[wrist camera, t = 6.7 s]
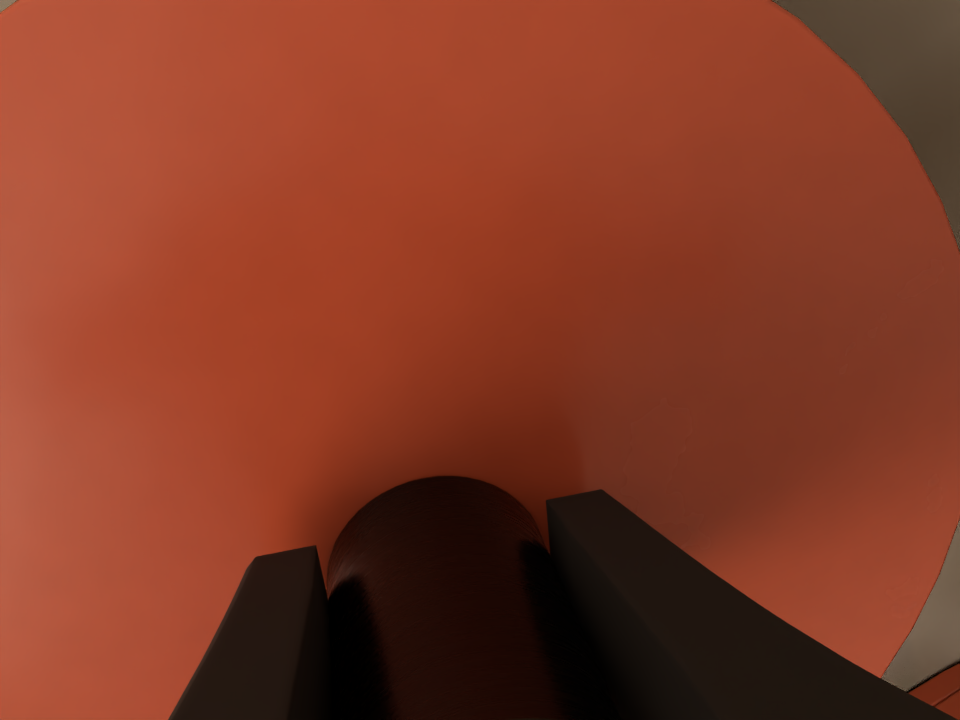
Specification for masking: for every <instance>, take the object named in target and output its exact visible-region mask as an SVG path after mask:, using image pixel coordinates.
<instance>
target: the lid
mask: <svg viewBox="0 0 960 720" xmlns="http://www.w3.org/2000/svg"><path fill="white" fill-rule="evenodd" d="M599 489H602V490H604V491H605V492H606V493H608V494H609V495H610V496H612V497H613V498H614V499H616V500H617V501H618V502H620V503H621V504H622V505H624V506H625V507H626V508H628V509H629V510H630V511H632V512H633V513H634V514H636V515H637V516H638V517H640V518H641V519H642V520H643V521H645V522H646V523H647V524H649V525H650V526H651V527H653V528H654V529H655V530H657V531H658V532H659V533H660V534H662V535H663V536H664V537H666V538H667V539H668V540H670V541H671V542H672V543H674V544H675V545H676V546H678V547H679V548H681V549H682V550H683V551H685V552H686V553H687V554H689V555H690V556H691V557H693V558H694V559H695V560H697V561H698V562H699V563H701V564H702V565H704V566H705V567H706V568H708V569H709V570H710V571H712V572H713V573H715V574H716V575H718V576H719V577H720V578H722V579H723V580H725V581H726V582H728V583H729V584H731V585H732V586H733V587H735V588H736V589H738V590H739V591H741V592H742V593H744V594H745V595H746V596H748V597H749V598H751V599H752V600H754V601H755V602H756V603H758V604H759V605H761V606H762V607H764V608H765V609H767V610H769V611H770V612H772V613H773V614H775V615H776V616H778V617H779V618H781V619H782V620H784V621H785V622H787V623H789V624H790V625H792V626H793V627H795V628H797V629H798V630H800V631H802V632H803V633H805V634H806V635H808V636H810V637H811V638H813V639H815V640H816V641H818V642H819V643H821V644H823V645H824V646H826V647H828V648H829V649H831V650H832V651H834V652H836V653H837V654H839V655H841V656H842V657H844V658H846V659H847V660H849V661H851V662H852V663H854V664H856V665H858V666H859V667H861V668H863V669H865V670H866V671H868V672H870V673H872V674H873V675H875V676H877V677H879V678H881V677H882V675H883V674H884V672H885V671H886V669H887V668H888V666H889V664H890V663H891V661H892V660H893V658H894V657H895V655H896V654H897V652H898V650H899V649H900V647H901V646H902V644H903V643H904V641H905V639H906V638H907V636H908V635H909V633H910V632H911V630H912V629H913V627H914V625H915V623H916V621H917V619H918V617H919V615H920V613H921V611H922V609H923V607H924V605H925V603H926V601H927V599H928V597H929V595H930V593H931V591H932V589H933V587H934V585H935V583H936V581H937V579H938V576H939V574H940V572H941V569H942V566H943V563H944V561H945V558H946V555H947V552H948V550H949V547H950V544H951V541H952V539H953V536H954V533H955V530H956V528H957V525H958V522H959V519H960V251H959V249H958V246H957V243H956V240H955V237H954V235H953V232H952V229H951V226H950V223H949V220H948V218H947V215H946V212H945V209H944V206H943V204H942V201H941V199H940V197H939V195H938V193H937V192H936V190H935V188H934V186H933V184H932V182H931V181H930V179H929V177H928V175H927V173H926V171H925V170H924V168H923V166H922V164H921V162H920V160H919V159H918V157H917V155H916V153H915V151H914V149H913V148H912V146H911V144H910V142H909V140H908V138H907V137H906V135H905V134H904V132H903V131H902V130H901V129H900V127H899V126H898V125H897V123H896V122H895V121H894V120H893V118H892V117H891V116H890V114H889V113H888V112H887V110H886V109H885V108H884V107H883V105H882V104H881V103H880V101H879V100H878V99H877V98H876V96H875V95H874V94H873V92H872V91H871V90H870V89H869V87H868V86H867V85H866V83H865V82H864V81H863V80H862V78H861V77H860V76H859V74H858V73H857V72H856V71H854V70H853V69H852V68H851V67H850V66H849V65H848V64H847V63H846V62H845V61H844V60H843V59H842V58H841V57H839V56H838V55H837V54H836V53H835V52H834V51H833V50H832V49H831V48H830V47H829V46H828V45H827V44H826V43H824V42H823V41H822V40H821V39H820V38H819V37H818V36H817V35H816V34H815V33H814V32H813V31H812V30H811V29H809V28H808V27H807V26H806V25H805V24H804V23H803V22H802V21H801V20H800V19H799V18H797V17H796V16H794V15H793V14H791V13H790V12H788V11H787V10H785V9H784V8H782V7H781V6H780V5H778V4H777V3H775V2H774V1H772V0H17V1H16V2H14V3H13V4H11V5H10V6H9V7H7V8H6V9H5V10H3V11H2V12H0V720H168V719H169V717H170V715H171V713H172V712H173V710H174V708H175V706H176V705H177V703H178V701H179V699H180V697H181V696H182V694H183V692H184V690H185V688H186V687H187V685H188V683H189V681H190V680H191V678H192V676H193V674H194V672H195V671H196V669H197V667H198V665H199V664H200V662H201V660H202V658H203V656H204V654H205V652H206V650H207V649H208V647H209V645H210V643H211V641H212V639H213V637H214V635H215V633H216V631H217V629H218V627H219V625H220V623H221V621H222V619H223V617H224V615H225V613H226V611H227V609H228V607H229V605H230V603H231V601H232V599H233V597H234V595H235V592H236V590H237V588H238V586H239V584H240V582H241V580H242V577H243V575H244V573H245V571H246V568H247V567H248V566H249V565H250V563H251V562H252V561H253V559H254V558H255V557H257V556H262V555H267V554H272V553H277V552H282V551H287V550H292V549H298V548H303V547H308V546H313V545H316V547H317V551H318V556H319V560H320V565H321V569H322V574H323V578H324V583H325V587H326V592H327V597H328V603H329V625H330V647H331V669H332V709H333V720H622V719H621V717H620V714H619V712H618V710H617V708H616V705H615V703H614V701H613V698H612V696H611V694H610V692H609V689H608V687H607V685H606V682H605V680H604V678H603V675H602V673H601V671H600V669H599V666H598V664H597V662H596V659H595V657H594V655H593V652H592V650H591V648H590V646H589V643H588V641H587V639H586V636H585V634H584V632H583V630H582V627H581V625H580V623H579V620H578V618H577V616H576V613H575V611H574V609H573V607H572V604H571V602H570V600H569V597H568V595H567V593H566V590H565V588H564V586H563V584H562V581H561V579H560V577H559V574H558V572H557V570H556V568H555V565H554V563H553V561H552V558H551V556H550V546H549V533H548V521H547V509H546V500H548V499H553V498H558V497H564V496H569V495H574V494H579V493H584V492H589V491H594V490H599Z"/></svg>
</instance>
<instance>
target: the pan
mask: <svg viewBox="0 0 960 720" xmlns="http://www.w3.org/2000/svg"><path fill="white" fill-rule="evenodd" d="M909 694H910V695H912V696H914V697H916V698H918V699H920V700H922V701H924V702H926V703H928V704H930V705H931V706H933V707H935V708H937V709H939V710H941V711H943V712H945V713H947V714H949V715H950V716H952V717H954V718H956V719H958V720H960V663H959V664H957V665H955V666H953V667H951V668H949V669H947V670H945V671H944V672H942V673H940V674H939V675H937V676H935V677H934V678H932V679H930V680H929V681H927V682H925V683H924V684H922V685H920V686H919V687H917V688H916V689H914V690H912V691H911V692H909Z"/></svg>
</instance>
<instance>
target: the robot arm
mask: <svg viewBox="0 0 960 720" xmlns="http://www.w3.org/2000/svg"><path fill="white" fill-rule="evenodd" d="M546 509H547V521H548V533H549V546H550V556H551V558H552V561H553V563H554V565H555V568H556V570H557V572H558V574H559V577H560V579H561V581H562V584H563V586H564V588H565V590H566V593H567V595H568V597H569V600H570V602H571V604H572V607H573V609H574V611H575V613H576V616H577V618H578V620H579V623H580V625H581V627H582V630H583V632H584V634H585V636H586V639H587V641H588V643H589V646H590V648H591V650H592V652H593V655H594V657H595V659H596V662H597V664H598V666H599V669H600V671H601V673H602V675H603V678H604V680H605V682H606V685H607V687H608V689H609V692H610V694H611V696H612V698H613V701H614V703H615V705H616V708H617V710H618V712H619V714H620V717H621V719H622V720H958V719H956V718H954V717H952V716H950V715H949V714H947V713H945V712H943V711H941V710H939V709H937V708H935V707H933V706H931V705H930V704H928V703H926V702H924V701H922V700H920V699H918V698H916V697H914V696H912V695H910V694H909V693H907V692H905V691H903V690H901V689H899V688H897V687H895V686H893V685H891V684H890V683H888V682H886V681H884V680H882V679H881V678H879V677H877V676H875V675H873V674H872V673H870V672H868V671H866V670H865V669H863V668H861V667H859V666H858V665H856V664H854V663H852V662H851V661H849V660H847V659H846V658H844V657H842V656H841V655H839V654H837V653H836V652H834V651H832V650H831V649H829V648H828V647H826V646H824V645H823V644H821V643H819V642H818V641H816V640H815V639H813V638H811V637H810V636H808V635H806V634H805V633H803V632H802V631H800V630H798V629H797V628H795V627H793V626H792V625H790V624H789V623H787V622H785V621H784V620H782V619H781V618H779V617H778V616H776V615H775V614H773V613H772V612H770V611H769V610H767V609H765V608H764V607H762V606H761V605H759V604H758V603H756V602H755V601H754V600H752V599H751V598H749V597H748V596H746V595H745V594H744V593H742V592H741V591H739V590H738V589H736V588H735V587H733V586H732V585H731V584H729V583H728V582H726V581H725V580H723V579H722V578H720V577H719V576H718V575H716V574H715V573H713V572H712V571H710V570H709V569H708V568H706V567H705V566H704V565H702V564H701V563H699V562H698V561H697V560H695V559H694V558H693V557H691V556H690V555H689V554H687V553H686V552H685V551H683V550H682V549H681V548H679V547H678V546H676V545H675V544H674V543H672V542H671V541H670V540H668V539H667V538H666V537H664V536H663V535H662V534H660V533H659V532H658V531H657V530H655V529H654V528H653V527H651V526H650V525H649V524H647V523H646V522H645V521H643V520H642V519H641V518H640V517H638V516H637V515H636V514H634V513H633V512H632V511H630V510H629V509H628V508H626V507H625V506H624V505H622V504H621V503H620V502H618V501H617V500H616V499H614V498H613V497H612V496H610V495H609V494H608V493H606V492H605V491H604V490H602V489H599V490H594V491H589V492H584V493H579V494H574V495H569V496H564V497H558V498H553V499H548V500H546ZM168 720H333V709H332V669H331V647H330V625H329V603H328V597H327V592H326V587H325V583H324V578H323V574H322V569H321V565H320V560H319V556H318V551H317V547H316V545H313V546H308V547H303V548H298V549H292V550H287V551H282V552H277V553H272V554H267V555H262V556H257V557H255V558H254V559H253V561H252V562H251V563H250V565H249V566H248V567H247V568H246V571H245V573H244V575H243V577H242V580H241V582H240V584H239V586H238V588H237V590H236V592H235V595H234V597H233V599H232V601H231V603H230V605H229V607H228V609H227V611H226V613H225V615H224V617H223V619H222V621H221V623H220V625H219V627H218V629H217V631H216V633H215V635H214V637H213V639H212V641H211V643H210V645H209V647H208V649H207V650H206V652H205V654H204V656H203V658H202V660H201V662H200V664H199V665H198V667H197V669H196V671H195V672H194V674H193V676H192V678H191V680H190V681H189V683H188V685H187V687H186V688H185V690H184V692H183V694H182V696H181V697H180V699H179V701H178V703H177V705H176V706H175V708H174V710H173V712H172V713H171V715H170V717H169V719H168Z"/></svg>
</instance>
